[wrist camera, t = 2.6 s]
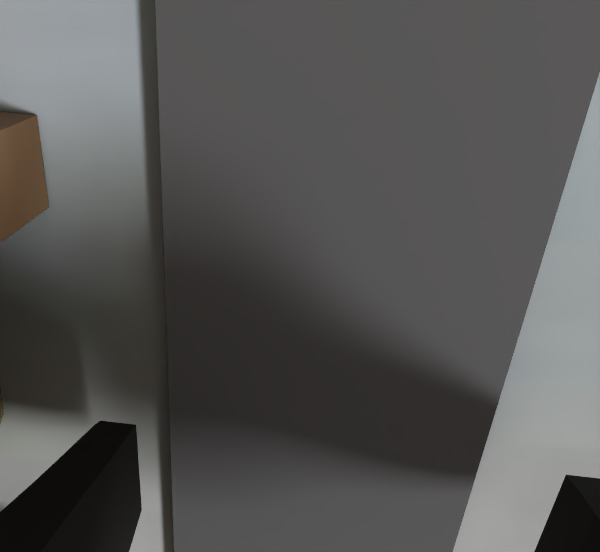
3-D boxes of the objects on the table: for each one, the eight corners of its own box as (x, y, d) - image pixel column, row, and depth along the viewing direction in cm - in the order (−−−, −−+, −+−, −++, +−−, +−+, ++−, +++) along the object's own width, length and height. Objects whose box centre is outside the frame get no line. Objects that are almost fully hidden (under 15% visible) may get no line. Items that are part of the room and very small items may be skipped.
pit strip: (403, 695, 15) (404, 708, 15) (181, 667, 15) (178, 679, 15) (645, -115, 7) (657, -119, 7) (157, -156, 7) (150, -161, 7)
